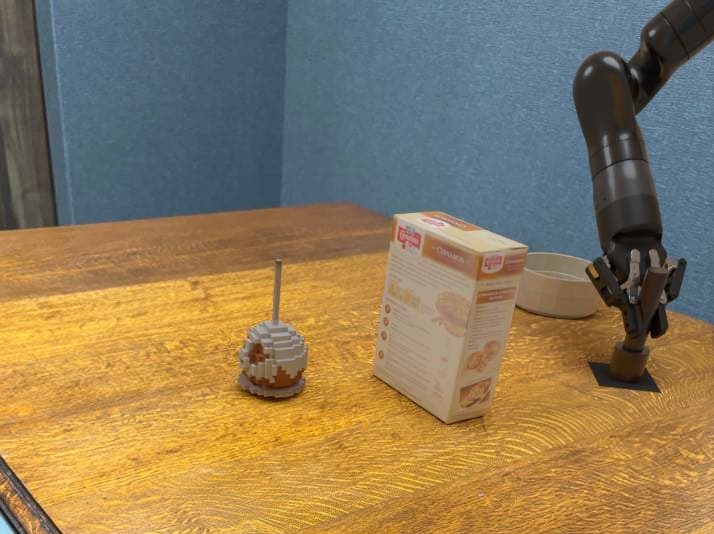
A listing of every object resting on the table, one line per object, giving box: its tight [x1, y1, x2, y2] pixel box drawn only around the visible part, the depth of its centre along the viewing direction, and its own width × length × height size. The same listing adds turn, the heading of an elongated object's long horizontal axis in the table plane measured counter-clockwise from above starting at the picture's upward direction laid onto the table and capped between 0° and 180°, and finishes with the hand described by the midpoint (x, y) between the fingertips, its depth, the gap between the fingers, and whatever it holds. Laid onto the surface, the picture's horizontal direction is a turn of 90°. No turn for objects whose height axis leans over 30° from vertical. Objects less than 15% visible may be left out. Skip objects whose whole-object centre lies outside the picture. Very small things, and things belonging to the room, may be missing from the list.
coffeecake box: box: [372, 210, 530, 425], centre depth 93 cm, size 15×7×20 cm, turn 32°
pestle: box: [607, 267, 669, 383], centre depth 103 cm, size 4×4×14 cm
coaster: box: [587, 360, 662, 394], centre depth 107 cm, size 8×8×1 cm
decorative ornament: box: [237, 258, 309, 399], centre depth 93 cm, size 8×8×15 cm
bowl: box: [515, 251, 602, 320], centre depth 128 cm, size 14×14×6 cm
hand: (648, 335), depth 102 cm, fingers closed on pestle, 2 cm apart
